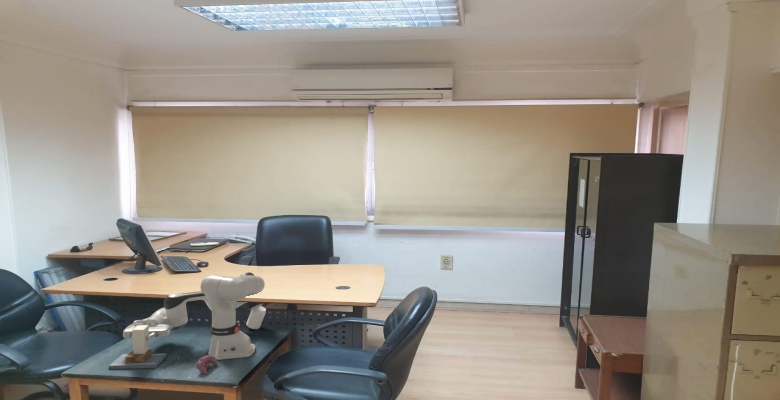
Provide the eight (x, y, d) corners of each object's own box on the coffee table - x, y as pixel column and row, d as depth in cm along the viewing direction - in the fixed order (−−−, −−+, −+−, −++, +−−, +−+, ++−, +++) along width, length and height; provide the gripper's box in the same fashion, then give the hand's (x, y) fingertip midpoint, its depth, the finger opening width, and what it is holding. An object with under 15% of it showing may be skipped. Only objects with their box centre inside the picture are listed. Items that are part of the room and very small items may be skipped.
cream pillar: (149, 348, 196) (148, 325, 195) (144, 353, 192) (143, 329, 190) (138, 348, 196) (137, 325, 194) (133, 354, 191) (132, 329, 189)
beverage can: (256, 331, 236) (264, 312, 235) (243, 326, 236) (251, 307, 235) (261, 326, 244) (268, 308, 243) (248, 321, 244) (256, 303, 243)
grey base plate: (166, 356, 200) (166, 347, 199) (155, 367, 188) (155, 358, 188) (122, 357, 197) (122, 348, 197) (108, 368, 185) (108, 359, 185)
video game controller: (211, 367, 194) (205, 354, 194) (219, 364, 193) (213, 350, 193) (198, 377, 184) (192, 363, 184) (206, 374, 183) (200, 359, 183)
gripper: (174, 331, 208) (163, 344, 194) (131, 332, 205) (117, 346, 191) (174, 319, 207) (163, 331, 193) (131, 320, 204) (116, 333, 190)
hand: (140, 338), depth 192 cm, fingers closed on cream pillar, 5 cm apart
